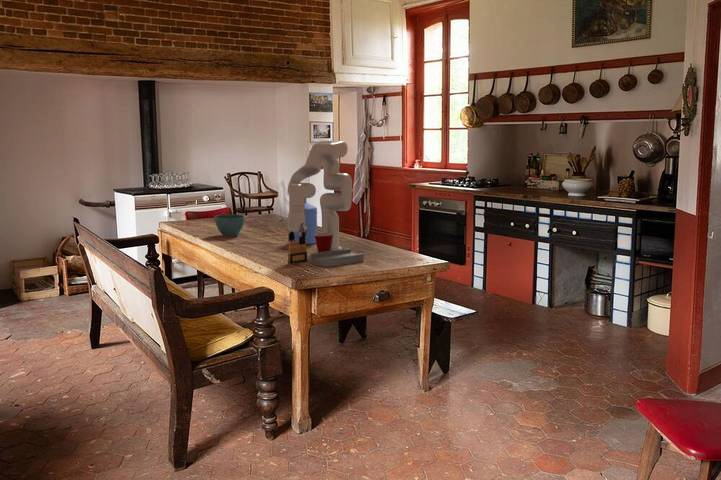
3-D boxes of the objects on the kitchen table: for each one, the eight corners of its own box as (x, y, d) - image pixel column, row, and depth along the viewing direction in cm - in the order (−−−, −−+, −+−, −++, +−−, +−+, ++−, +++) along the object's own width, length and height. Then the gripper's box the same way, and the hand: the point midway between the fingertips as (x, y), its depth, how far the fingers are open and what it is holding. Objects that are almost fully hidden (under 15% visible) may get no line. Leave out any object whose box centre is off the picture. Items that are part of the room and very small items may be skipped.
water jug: (313, 245, 379) (313, 197, 375) (287, 244, 382) (286, 196, 378) (320, 240, 394) (320, 194, 390) (295, 239, 398) (294, 193, 393)
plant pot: (248, 233, 420) (247, 214, 418) (240, 238, 402) (239, 218, 400) (220, 233, 422) (219, 214, 420) (211, 237, 404) (210, 218, 402)
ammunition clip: (289, 264, 327) (289, 240, 325) (287, 263, 328) (287, 239, 326) (307, 261, 333) (307, 238, 331) (305, 261, 335) (305, 237, 333)
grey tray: (311, 263, 328) (310, 253, 328) (349, 257, 343) (349, 248, 342) (324, 267, 319) (324, 257, 318) (363, 261, 334) (363, 251, 333)
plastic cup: (323, 252, 356) (323, 231, 354) (338, 255, 350) (338, 233, 348) (309, 255, 348) (309, 233, 346) (324, 258, 341) (324, 235, 339)
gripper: (281, 207, 330) (281, 241, 333) (300, 210, 317) (300, 245, 319) (293, 207, 335) (293, 240, 337) (312, 210, 322) (312, 244, 324)
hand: (296, 243), depth 328 cm, fingers open, 9 cm apart
